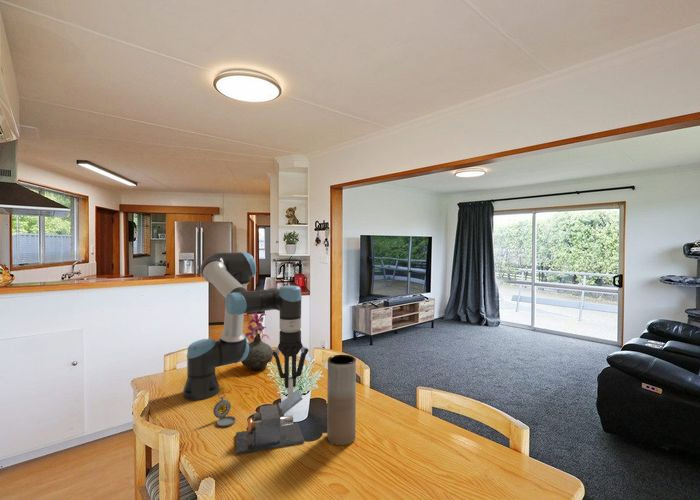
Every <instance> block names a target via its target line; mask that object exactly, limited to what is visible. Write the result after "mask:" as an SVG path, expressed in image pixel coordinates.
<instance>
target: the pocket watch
mask: <svg viewBox="0 0 700 500" xmlns="http://www.w3.org/2000/svg"><path fill="white" fill-rule="evenodd" d="M221 395H222V393H220V394H219V395H218V398H219V399H220V400H218V402H216V403H215V405H214V407H213V409H212V410H213V415H214V417H216V418H217V421H216V424H217V426H218V427H224V428H225V427H229V426H232V425H233V424H235V422H236V417H234V416H232V415H228V414H229V413H230V412H231V408H232V406H231V405H232V404H231V402H230V401H229V400H227V399H224V398H225V397H226V394H225V393H223V395H222V396H221ZM220 396H221V397H220Z"/></svg>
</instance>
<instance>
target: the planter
mask: <svg viewBox="0 0 700 500" xmlns="http://www.w3.org/2000/svg"><path fill="white" fill-rule="evenodd" d="M356 377H357V360H356V357H354V356H353V355H348V354H335V355H331V356H330V357H328V359H327V404H326V405H327V410H326V411H327V412H326V413H327V414H326V415H327V417H326V420H327V421H326V422H327V424H326V426H327V428H326V429H327V432H326V433H327V435H326V436H327V440H328V442H329V443H331V444H332V445H335V446H348V445H350V444H352V443H353V442H355V440H356V433H357V431H356V422H357V421H356V420H357V419H356V418H357V417H356V410H357V404H356V402H357V397H356V396H357V395H356V394H357V391H356V389H357V385H356V384H357V378H356Z"/></svg>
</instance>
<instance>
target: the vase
mask: <svg viewBox="0 0 700 500" xmlns="http://www.w3.org/2000/svg"><path fill="white" fill-rule="evenodd" d="M250 314H251V316H252V318H251V319H250V320H249V322H248V324H247V325H248V326H247V329H248V330H249V331H250V332H245V333H244V334H245V337H246V338H247V337H249V336H250V337H249V338H250V339H251V340H253V341H251V342H249V353H248V356H247V357H246V359H245V360H243V361H241V364H242V365H243V366H244V367H246V368H248V369H250V370H251V371H260V369H261V370H263V369H264V368H265V367H267V363H268V362H270V363H271V362H272V360H273V358H274V356H273V354H272V350H273V348H272V347H271V345H269V344H268V343H266V342H264V341H263V339H264V337H266V338H267V339H269V340H271V338H270V336H268V335H267V334H264V332H263V331H264V329H266V328H267V327H266V326H263V324H262V323H264V316H266V315H267V314H266V313H265V312H262V313H261V314H260V315H258V312H252V313H250ZM252 323H255V324H256V326H254V327H253V326H252ZM247 339H248V338H247ZM262 368H263V369H262Z"/></svg>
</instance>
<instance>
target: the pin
mask: <svg viewBox="0 0 700 500" xmlns="http://www.w3.org/2000/svg"><path fill="white" fill-rule="evenodd" d="M257 422H261V420H257V421H254V418H252V417H249V418H247V431H248V435H251V434H253V431H255V423H257ZM293 423H294V415H293V414H290V415H284V416H282V417H281V416H280V426H286V425H292V424H293Z"/></svg>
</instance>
